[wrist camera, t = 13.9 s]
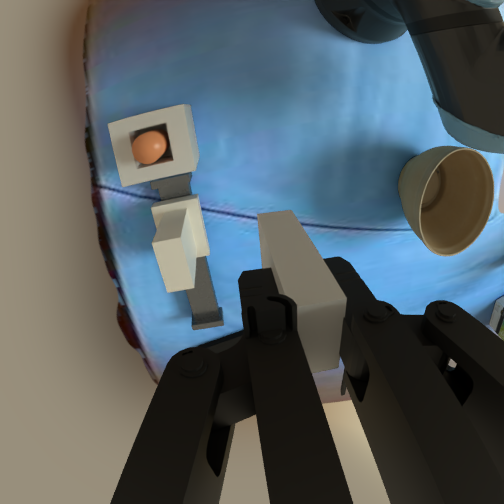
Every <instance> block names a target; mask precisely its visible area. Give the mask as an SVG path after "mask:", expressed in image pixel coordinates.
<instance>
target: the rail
mask: <svg viewBox="0 0 504 504" xmlns="http://www.w3.org/2000/svg"><path fill="white" fill-rule="evenodd" d="M191 178H192V173H191V172H187V173H182V174H177V175H173V176H168V177H163V178H159V179H155V180H152V181H151V182H150V184H151V188H152V190H154V189H158V190H159V194H160V198H161V201H165V200H169V199H174V198H179V197H184V196H189V195H192V191H191V186H190V181H191ZM186 293H187V296H188V299H189V302H190V306H191V309H192V329H193V330H199V329H205V328H211V327H217V326H223V325H224V320H223V310H222V307H220V308H219V307H218V303H217V299H216V295H215V291H214V287H213V283H212V279H211V275H210V271H209V266H208V262H207V258H206V256H202V257H197V258H196V271H195V285H194V288H192V289H186Z"/></svg>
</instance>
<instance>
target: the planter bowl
mask: <svg viewBox="0 0 504 504" xmlns="http://www.w3.org/2000/svg"><path fill="white" fill-rule="evenodd" d="M398 191H399V196H400V198H401V203H402V208H403V211H404V214H405V217H406V219H407V221H408V223H409V225H410V227H411V228H412V230H413V231H414V232H415V234H416V235H417V236H418V237H419V238H420V239H421V240H422V242H423V243H424V244H425V246H426V247H427V248H428V249H429V250H430V251H432V252H433V253H435V254H437V255H440V256H453V255H456V254H458V253H460V252H462V251H464V250H465V249H466V248H468V247H469V246H470V245H471V244H472V243H473V242H474V241H475V240H476V239H477V238H478V236H479V235H480V234H481V232H482V231H483V229H484V227H485V225H486V223H487V221H488V219H489V216H490V213H491V210H492V206H493V200H494V179H493V174H492V171H491V168H490V166H489V164H488V162H487V160H486V159H485V158H484V157H483V156H482V155H481V154H480V153H479V152H477V151H476V150H473V149H471V148H465V147H456V146H440V147H435V148H432V149H429V150H427V151H425V152H423V153H421V154H420V155H418V156H416V157H414V158H412V159H411V160H409V161H408V162H407V163H406V165H405V166H404V167H403V169H402V171H401V174H400V177H399V182H398Z"/></svg>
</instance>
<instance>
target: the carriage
mask: <svg viewBox="0 0 504 504" xmlns="http://www.w3.org/2000/svg"><path fill="white" fill-rule="evenodd" d="M151 210H152V214H153V217H154V221H155V225H156V228H157V231H156V234H155V236H154V239H153V241H152V245H153V249H154V252H155V255H156V258H157V262H158V265H159V268H160V271H161V274H162V277H163V280H164V283H165V286H166V289H167V292H174V291H180V290H186V289H192V288H194V285H195V271H196V258H197V257H202V256H207V255H210V248H209V243H208V239H207V234H206V230H205V225H204V221H203V216H202V211H201V206H200V202H199V197H198V194H194V195H189V196H184V197H179V198H174V199H169V200H165V201H160V202H155V203H153V205H152V207H151Z"/></svg>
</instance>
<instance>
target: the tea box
mask: <svg viewBox="0 0 504 504" xmlns="http://www.w3.org/2000/svg"><path fill="white" fill-rule="evenodd" d="M489 325H490V326H491V327H492V329H493V330H494V331H495V332H496V333H497V334H498V335H499V336H500V337H501V338H502V339H503V341H504V296H502V297H501V298H499V299H497V300H496V303H495V306H494V309H493V313H492V316H491V320H490V323H489Z"/></svg>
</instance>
